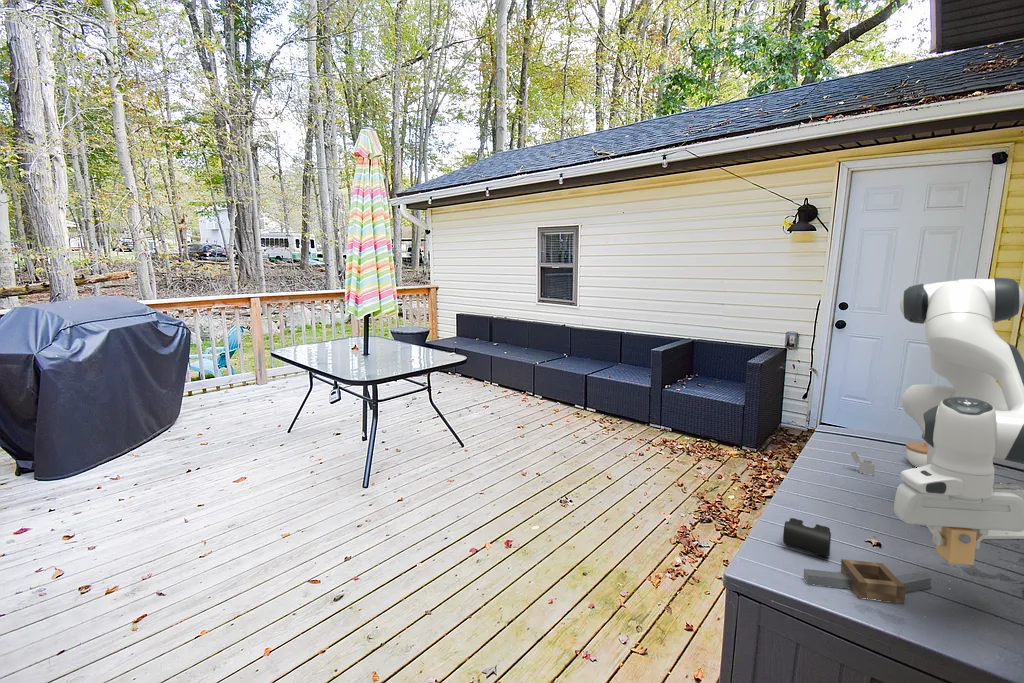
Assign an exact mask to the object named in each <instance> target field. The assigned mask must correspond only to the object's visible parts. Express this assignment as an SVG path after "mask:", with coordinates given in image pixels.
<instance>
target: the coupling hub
mask: <svg viewBox="0 0 1024 683" xmlns="http://www.w3.org/2000/svg"><path fill="white" fill-rule="evenodd" d="M840 573H847V574H848V575H849V576H850V577H851V579H852V590H853V591H854V592H853V591H852V592H853V593H854V595H855V594H856V595H857V596H856V595H855V596H856V597H857V598H858V599H859V598H866V599H867V598H868V599H876V600H881V601H880V602H883V601H890V602H889V603H892V602H898V603H897V604H900V603H904V604H905V594H906V593H905V586H904V585H903V584H902V583H901V582H900V581H899V580H898V579H897V578H896V577H895V574H894V573H893V572H892V571H891V570H890V569H889V567H887V566H886V564H885V563H884V562H876V561H875V562H874V561H864V560H855V559H844V558H842V559H841V561H840Z"/></svg>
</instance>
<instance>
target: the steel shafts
mask: <svg viewBox="0 0 1024 683" xmlns="http://www.w3.org/2000/svg"><path fill="white" fill-rule="evenodd" d="M894 576H895V575H894ZM803 577H804V578H803V579H805V580H806V582H807V583H806V582H805V583H806V585H807V584H815V585H822V586H821V587H824V586H831V587H830V588H833V587H842V588H850V589H849V590H851V589H852V579H851V577H850V576H849V575H848V574H847V573H841V572H838V571H829V570H819V569H817V570H816V569H809V568H803ZM895 577H896V578H897V579H898V580H899V581H900V582H901V583H902V584H903V585H904V586H905V594H906V593H907V594H908V593H912V592H917V591H923V590H927V589H931V586H932V577H930V576H929V575H927V574H925V573H923V572H921V571H916V572H911V573H907V574H901V575H896V576H895ZM805 580H804V581H805ZM815 585H814V586H815ZM823 585H824V586H823ZM842 588H841V589H842Z"/></svg>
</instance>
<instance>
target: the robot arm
mask: <svg viewBox="0 0 1024 683" xmlns="http://www.w3.org/2000/svg"><path fill="white" fill-rule="evenodd" d="M1023 305H1024V291H1023V289H1022V287H1021V286H1020V285H1019V282H1017V281H1016V280H1015V279H1013V278H1009V277H1008V278H1007V277H994V278H964V279H963V278H960V279H957V280H947V281H940V282H932V283H926V284H924V283H920V284H919V283H918V284H914V285H911V286H909V287H908V288H906V289H905V290H904V291H903V293H902V295H901V298H900V302H899V309H900V312H901V313H902V315H903V318H904V319H905V320H906V321H908V322H909V323H913V324H920V325H921V324H923V325H924V323H925V340H926V343H927V346H928V348H929V349H930V353H929V354H930V366H931V368H932V370H933V371H934V372H935V373H936V374H937V375H939V376H940V377H943V378H944V379H946V380H947V381H948V382H949V383H950V384H951V385H952V386H946V385H940V384H934V383H933V384H932V383H930V384H925V383H923V384H922V383H921V384H918V383H917V384H912V385H910V386H909V387H907V388H906V389H905V391H904V392H903V393H902V395H901V406H902V409H903V410H904V412H905V414H907V415H908V416H910V417H911V418H912V419H913V421H915V423H917V425H918V427H919V428H920V430H921V431H922V434H921V439H922V440H924V442H926V443H927V465H925V466H921V467H917V468H916V467H913V468H908V469H904V470H902V471H901V472H900V478H901V480H902V481H903V482H902V483H900V484H899V485H898V486H897V488H896V491H895V496H894V497H895V498H894V502H893V503H894V504H893V511H894V514H895V515H896V516H897V517H898V519H900V520H901V521H902V522H904V523H905V524H907V525H920V526H927V528H928V530H929V531H930V532H931V535H932V538H931V541H932V543H933V544H934V545H935V546H936V545H937V546H946V542H947V539H946V538H945V537H943V535H941V534H939V532H938V530H939V531H941V528H942V526H944V527H958V528H972V529H974V530H975V531H976V532H977V535H976V546H975V550H978V549H980V547H981V546H980V545H981V544H980V543H981V542H982V541H983V540H1024V488H1023V487H1022V486H1020V485H1018V484H1016V483H1013V482H998V481H995V471H996V469H995V466H994V462H993V461H994V459H1000V460H1005V461H1007V462H1011V463H1012V462H1014V463H1017V464H1023V465H1024V358H1023V357H1022V355H1021V353H1020V351H1019V349H1018V348H1017V347H1016V346H1015V345H1013V344H1011V343H1008V342H1006V341H1004V339H1002V338H1001V337H1000V336H999V335H998V333H997V332H996V331H995V329H994V324H993V323H999V322H1001V321H1006V320H1010V319H1012V318H1014V317H1015V316H1017V315H1018V314H1019V312H1020V310H1021V309H1022V308H1023Z"/></svg>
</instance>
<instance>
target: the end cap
mask: <svg viewBox="0 0 1024 683" xmlns="http://www.w3.org/2000/svg"><path fill="white" fill-rule="evenodd" d="M782 539H783V541H782V542H783V544H785V545H786V546H787V547H790V548H794V549H797V550H801V551H804V552H806V553H811V554H815V555H817V556H820V557H824V558H828V557H830V556H831V543H832V541H831V540H832V532H831V529H830V527H828V526H826V525H821V524H818V523H816V524H815V526H814V527H810V526H805V525H804V521H803V520H801V519H797V518H794V517H790V518H789V520H788V521H787V520H785V522H784V526H783V534H782Z"/></svg>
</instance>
